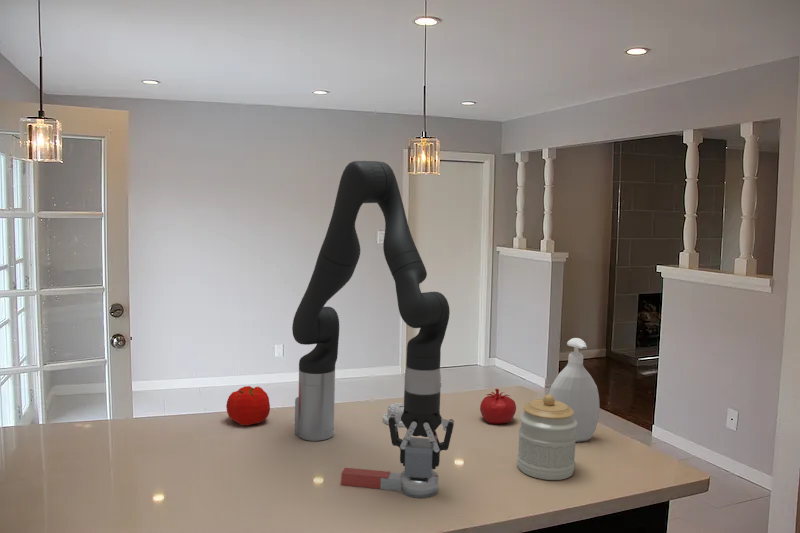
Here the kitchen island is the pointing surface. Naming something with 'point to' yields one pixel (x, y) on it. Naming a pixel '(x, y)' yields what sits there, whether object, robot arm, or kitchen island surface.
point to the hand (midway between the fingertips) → (419, 466)
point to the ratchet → (391, 482)
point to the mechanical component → (394, 412)
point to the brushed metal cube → (419, 458)
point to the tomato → (248, 405)
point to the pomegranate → (497, 408)
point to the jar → (547, 439)
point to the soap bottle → (578, 392)
